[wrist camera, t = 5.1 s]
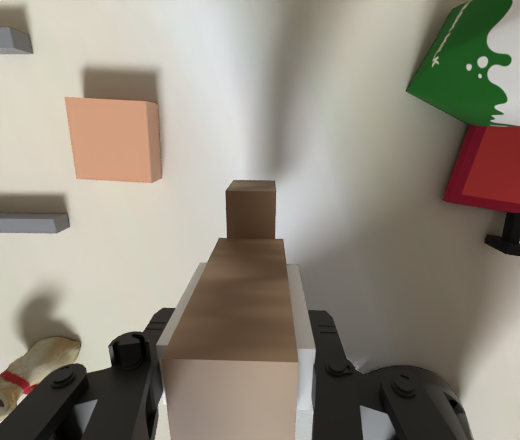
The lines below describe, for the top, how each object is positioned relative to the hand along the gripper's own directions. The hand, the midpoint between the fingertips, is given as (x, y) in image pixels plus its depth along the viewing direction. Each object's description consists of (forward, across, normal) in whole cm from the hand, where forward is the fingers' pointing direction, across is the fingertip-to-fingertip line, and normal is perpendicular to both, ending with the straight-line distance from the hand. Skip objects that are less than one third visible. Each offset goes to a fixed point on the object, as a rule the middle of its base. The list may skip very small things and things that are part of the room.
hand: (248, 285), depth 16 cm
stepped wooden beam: (+6, 0, 0) cm, 6 cm away
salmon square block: (+14, +13, -8) cm, 21 cm away
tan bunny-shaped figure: (+15, +26, +18) cm, 35 cm away
